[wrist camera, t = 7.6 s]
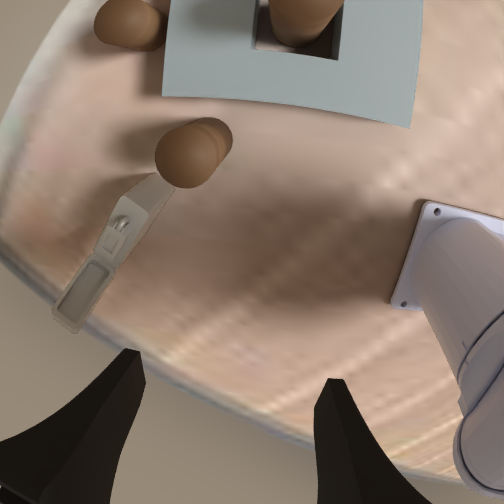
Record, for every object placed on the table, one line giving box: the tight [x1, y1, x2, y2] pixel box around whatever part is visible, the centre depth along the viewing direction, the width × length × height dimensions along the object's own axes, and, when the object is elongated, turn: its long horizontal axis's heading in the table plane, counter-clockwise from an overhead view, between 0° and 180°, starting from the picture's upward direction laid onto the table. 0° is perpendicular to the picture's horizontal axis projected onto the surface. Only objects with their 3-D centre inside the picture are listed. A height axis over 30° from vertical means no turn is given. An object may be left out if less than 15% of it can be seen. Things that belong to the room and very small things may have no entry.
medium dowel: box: [155, 118, 233, 188], centre depth 15 cm, size 3×3×5 cm
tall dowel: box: [268, 0, 345, 47], centre depth 10 cm, size 3×3×7 cm
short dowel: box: [94, 0, 169, 51], centre depth 12 cm, size 3×3×4 cm
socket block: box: [162, 0, 423, 129], centre depth 12 cm, size 12×9×2 cm
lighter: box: [52, 173, 175, 334], centre depth 16 cm, size 7×2×8 cm, turn 142°
